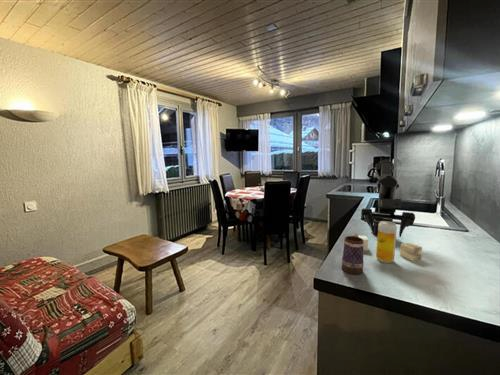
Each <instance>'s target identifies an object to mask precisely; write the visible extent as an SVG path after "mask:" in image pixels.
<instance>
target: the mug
mask: <svg viewBox="0 0 500 375" xmlns="http://www.w3.org/2000/svg"><path fill="white" fill-rule="evenodd" d="M358 235H359V234H358V233H353V235H347V236H345V237H344V241H343V251H342V257H341V270H342V271H344V272H345V273H347V274H350V275H356V276H357V275H361V274H362V273H363V272H364V264H365V263H364V250H363V246H364V242H363V239H362V238H359V237H358Z"/></svg>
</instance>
